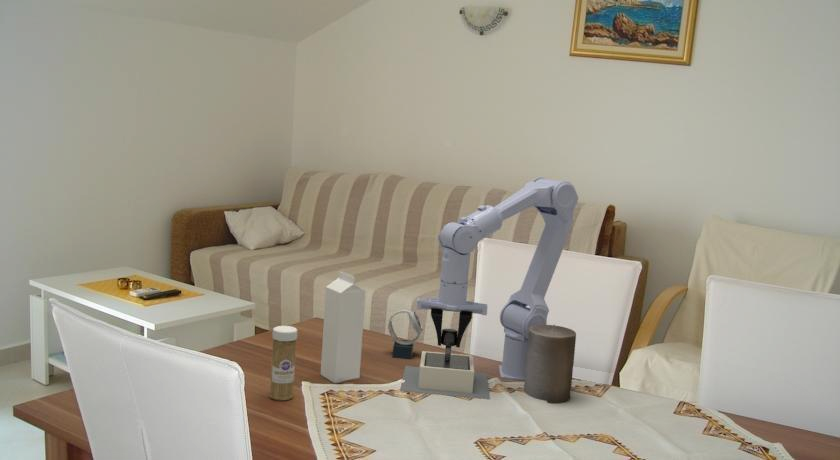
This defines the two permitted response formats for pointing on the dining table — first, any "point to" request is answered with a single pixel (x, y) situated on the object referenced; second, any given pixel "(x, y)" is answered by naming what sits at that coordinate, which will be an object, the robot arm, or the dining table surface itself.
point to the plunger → (447, 353)
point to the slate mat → (412, 386)
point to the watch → (405, 347)
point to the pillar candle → (550, 362)
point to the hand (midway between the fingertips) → (448, 345)
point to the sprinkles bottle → (283, 362)
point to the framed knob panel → (446, 376)
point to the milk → (342, 329)
